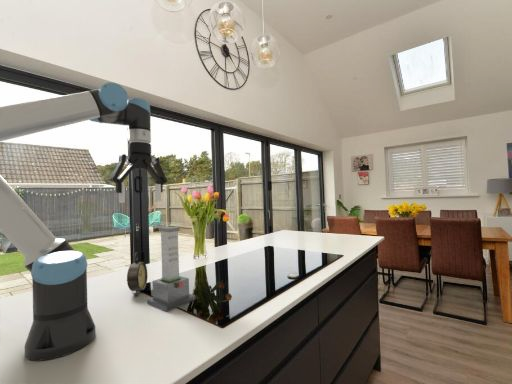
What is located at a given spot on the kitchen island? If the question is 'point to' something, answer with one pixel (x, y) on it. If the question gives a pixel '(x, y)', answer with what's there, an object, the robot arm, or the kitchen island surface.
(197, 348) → the kitchen island surface
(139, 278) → the alarm clock
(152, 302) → the stand base
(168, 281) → the column
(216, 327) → the kitchen island surface
